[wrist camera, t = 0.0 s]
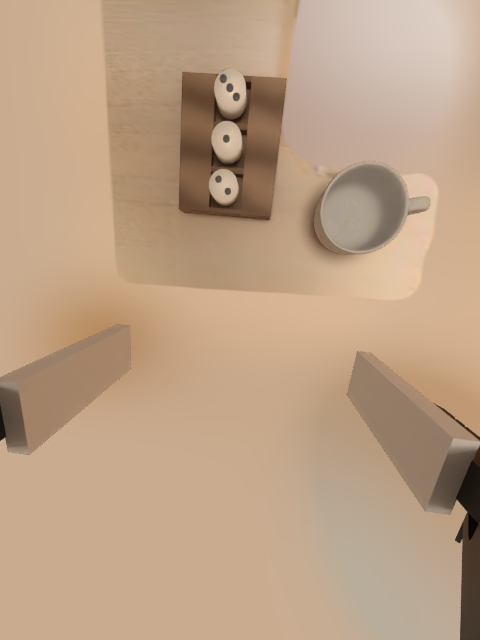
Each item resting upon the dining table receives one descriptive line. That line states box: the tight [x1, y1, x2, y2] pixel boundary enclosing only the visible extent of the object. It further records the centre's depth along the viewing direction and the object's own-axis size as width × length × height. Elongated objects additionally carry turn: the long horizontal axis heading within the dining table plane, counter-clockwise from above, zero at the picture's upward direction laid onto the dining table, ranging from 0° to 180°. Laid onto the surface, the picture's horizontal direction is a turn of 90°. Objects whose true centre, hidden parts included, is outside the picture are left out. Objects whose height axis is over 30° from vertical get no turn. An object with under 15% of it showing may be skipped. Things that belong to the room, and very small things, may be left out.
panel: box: [179, 72, 287, 220], centre depth 34 cm, size 17×14×2 cm
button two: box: [209, 169, 239, 206], centre depth 33 cm, size 4×4×3 cm
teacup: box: [314, 161, 430, 255], centre depth 33 cm, size 14×11×8 cm
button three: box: [214, 68, 247, 119], centre depth 30 cm, size 4×4×3 cm
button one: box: [211, 121, 243, 164], centre depth 32 cm, size 4×4×3 cm
